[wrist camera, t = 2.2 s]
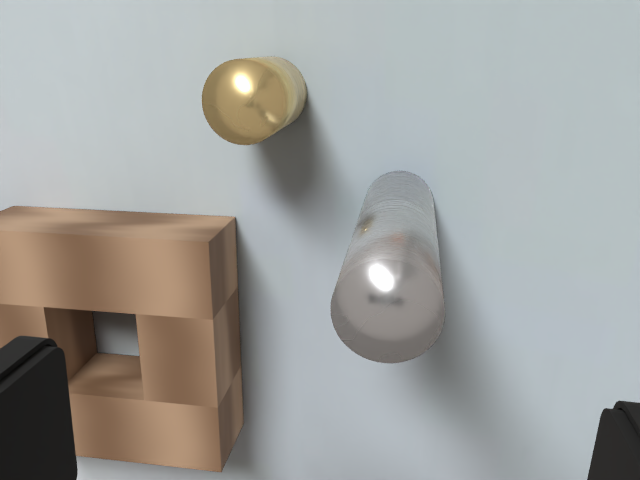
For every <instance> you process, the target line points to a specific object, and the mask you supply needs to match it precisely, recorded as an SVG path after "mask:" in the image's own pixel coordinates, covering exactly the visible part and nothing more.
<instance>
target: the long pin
mask: <svg viewBox="0 0 640 480" xmlns="http://www.w3.org/2000/svg"><path fill="white" fill-rule="evenodd" d="M331 318H332V323H333V325H334V328H335V330H336V332H337V334H338V336H339V337H340V339H341V340H342V341H343V342H344V344H345V345H346V346H347V347H349V348H350V349H351V350H352V351H354V352H355V353H356V354H358V355H360V356H362V357H364V358H366V359H369V360H372V361H376V362H381V363H399V362H404V361H408V360H411V359H413V358H415V357H417V356H420V355H421V354H423V353H424V352H426V351H427V350H428V349H429V348H430V347H431V346H432V345H433V344H434V343H435V341H436V340H437V338H438V337H439V335H440V333H441V331H442V328H443V325H444V320H445V305H444V295H443V286H442V277H441V267H440V258H439V248H438V239H437V229H436V220H435V210H434V201H433V196H432V192H431V190H430V188H429V187H428V185H427V184H426V183H425V181H423V180H422V179H421V178H420V177H418V176H417V175H415V174H413V173H410V172H406V171H393V172H389V173H386V174H384V175H382V176H380V177H379V178H378V179H376V180H375V181H374V182H373V183H372V185H371V186H370V188H369V190H368V192H367V194H366V197H365V200H364V203H363V206H362V209H361V212H360V215H359V218H358V221H357V224H356V227H355V230H354V233H353V236H352V239H351V242H350V245H349V248H348V251H347V254H346V257H345V260H344V263H343V266H342V269H341V272H340V275H339V278H338V281H337V284H336V287H335V290H334V293H333V296H332V300H331Z"/></svg>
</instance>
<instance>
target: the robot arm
mask: <svg viewBox="0 0 640 480" xmlns="http://www.w3.org/2000/svg"><path fill="white" fill-rule="evenodd" d="M76 479H77V461H76V452H75V443H74V434H73V424H72V415H71V406H70V397H69V388H68V378H67V369H66V360H65V354H64V351H63V349H61V348H60V347H57V344H56V342H55V341H54V340H53V339H51V338H42V337H32V336H18V337H16V338H14V339H13V340H12V341H10V342H9V343H7V344H6V345H5V346H3V347H2V348H0V480H76ZM587 480H640V403H635V402H626V401H618V402H616V404H615V406H614V408H613V409H607V408H606V409H604V410H603V412H602V414H601V417H600V422H599V427H598V432H597V436H596V441H595V446H594V451H593V455H592V460H591V465H590V469H589V474H588V479H587Z"/></svg>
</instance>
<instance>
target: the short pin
mask: <svg viewBox="0 0 640 480" xmlns="http://www.w3.org/2000/svg"><path fill="white" fill-rule="evenodd" d="M306 98H307V89H306V84H305V81H304V78H303V76H302V74H301V73H300V71H299V70H298V69H297V68H296V67H295V66H294V65H293V64H292V63H290V62H289V61H287V60H285V59H283V58H279V57H272V56H271V57H258V58H245V59H234V60H230V61H227V62H224V63H223V64H221V65H219V66H218V67H217V68H215V69H214V70H213V71H212V72H211V74H210V75H209V77H208V78H207V80H206V82H205V85H204V88H203V92H202V107H203V112H204V115H205V117H206V120H207V122H208V123H209V125H210V126H211V128H212V129H213V130H214V131H215V132H216V133H217V134H218V135H219V136H220V137H222V138H223V139H225V140H227V141H229V142H231V143H234V144H238V145H251V144H255V143H259V142H261V141H263V140H265V139H266V138H268V137H269V136H271V135H273V134H274V133H276V132H278V131H279V130H281V129H282V128H284V127H286V126H287V125H289V124H291V123H292V122H293V121H295V120H296V119H297V118H298V117H299V115H300V114H301V112H302V111H303V109H304V106H305V103H306Z"/></svg>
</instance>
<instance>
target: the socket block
mask: <svg viewBox="0 0 640 480" xmlns="http://www.w3.org/2000/svg"><path fill="white" fill-rule="evenodd" d="M92 311H102V312H115V313H129V314H136V324H137V334H138V344H139V354H140V356H129V355H118V354H106V353H97V347H96V339H95V331H94V323H93V315H92ZM18 336H32V337H42V338H51V339H53V340H54V341H55V342H56V344H57V347H60V348H61V349H63V351H64V354H65V360H66V369H67V378H68V388H69V397H70V406H71V415H72V424H73V434H74V443H75V452H76V456H84V457H92V458H101V459H110V460H119V461H128V462H136V463H145V464H154V465H163V466H172V467H180V468H189V469H198V470H207V471H216V472H222V470H223V468H224V465H225V463H226V461H227V459H228V457H229V455H230V452H231V450H232V448H233V446H234V444H235V441H236V439H237V437H238V435H239V433H240V431H241V428H242V426H243V424H244V421H243V396H242V372H241V347H240V323H239V298H238V273H237V249H236V224H235V217H228V216H208V215H187V214H167V213H147V212H126V211H106V210H86V209H65V208H45V207H25V206H12V207H10V208H7V209H5V210H2V211H0V348H2V347H3V346H5V345H6V344H7V343H9V342H10V341H12V340H13V339H14V338H16V337H18Z"/></svg>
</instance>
